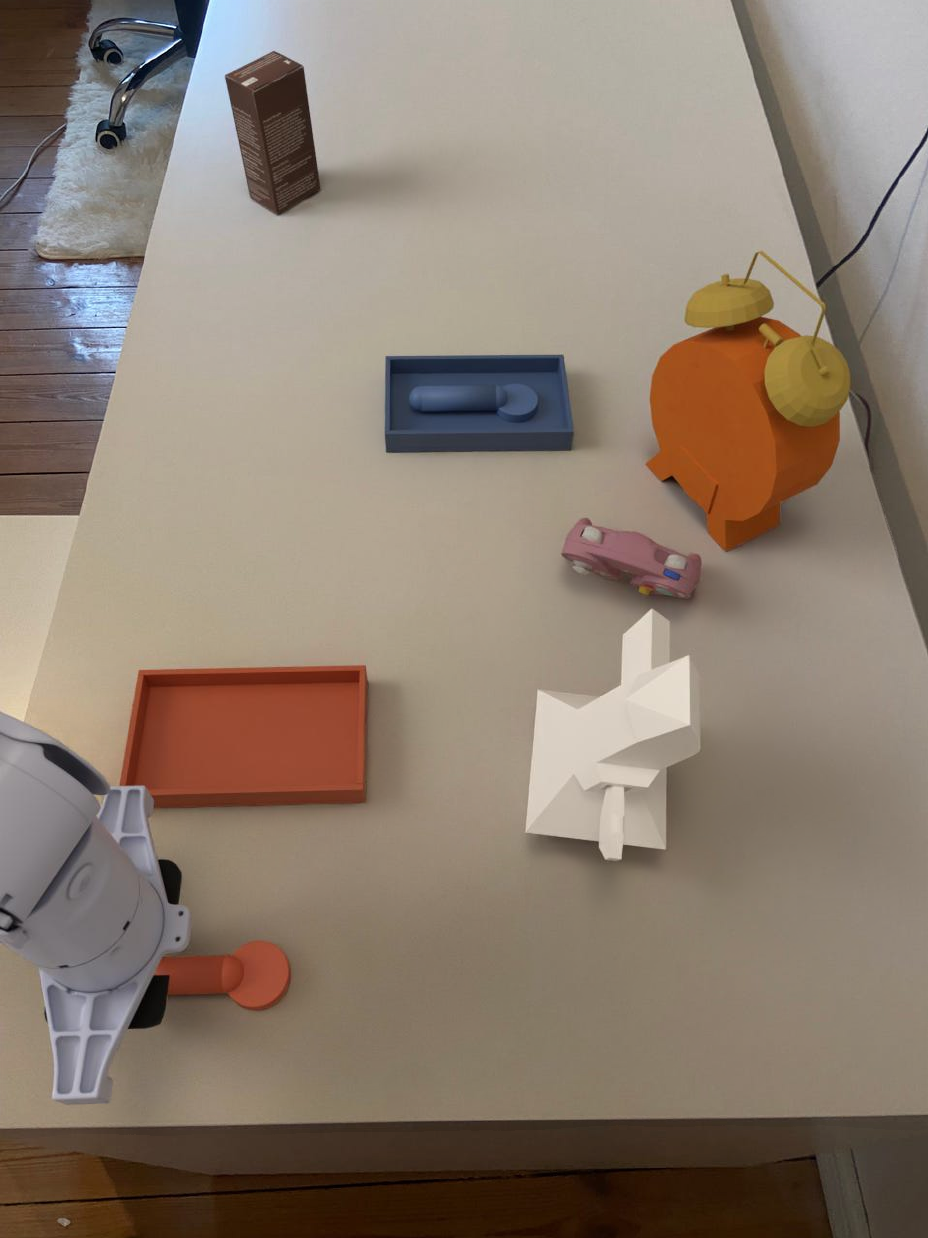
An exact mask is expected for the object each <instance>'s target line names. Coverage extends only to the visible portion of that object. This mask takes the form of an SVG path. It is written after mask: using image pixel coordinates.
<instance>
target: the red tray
mask: <svg viewBox="0 0 928 1238" xmlns="http://www.w3.org/2000/svg"><path fill="white" fill-rule="evenodd" d="M367 672H368V671H367V665H366V664H360V665H359V664H358V665H353V664H352V665H313V666H311V665H309V666H307V665H306V666H305V665H304V666H264V667H263V666H262V667H261V666H260V667H258V666H257V667H218V668H217V667H216V668H211V667H210V668H171V669H170V668H168V669H166V668H163V669H162V668H161V669H138V672H137V678H136V682H135V683H136V685H135V690H134V695H133V702H132V708H131V714H130V720H129V726H128V731H127V737H126V744H125V750H124V756H123V760H122V767H121V768H122V769H121V772H120V773H121V774H120V779H119V785H118V786H145V787H146V788H147V790H148V791H149V793H150V794H151V796H152V798H153V799H154V805H153V809H172V808H173V809H174V808H209V807H215V808H216V807H249V806H251V807H252V806H283V805H285V806H286V805H287V806H289V805H320V804H323V805H326V804H356V803H358V804H359V803H361V804H362V803H366V791H367V787H366V786H367V785H366V784H367V741H368V739H367V738H368V737H367V736H368V735H367V734H368V733H367V732H368V731H367V730H368V690H369V689H368V688H369V687H368V685H369V684H368V682H369V681H368V673H367Z"/></svg>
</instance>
